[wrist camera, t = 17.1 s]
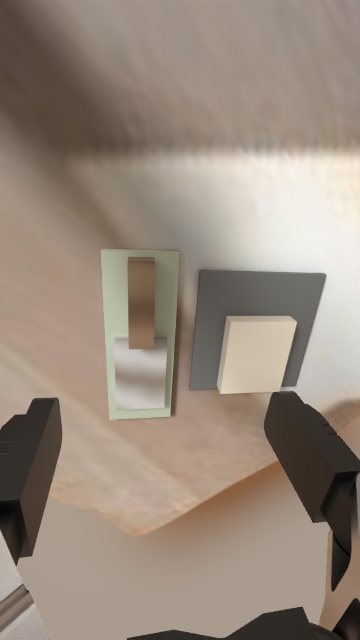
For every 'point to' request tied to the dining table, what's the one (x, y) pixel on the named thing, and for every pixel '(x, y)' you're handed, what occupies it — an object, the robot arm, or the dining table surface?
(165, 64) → the dining table surface
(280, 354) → the tile
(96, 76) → the dining table surface
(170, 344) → the board
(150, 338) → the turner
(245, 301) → the mat
